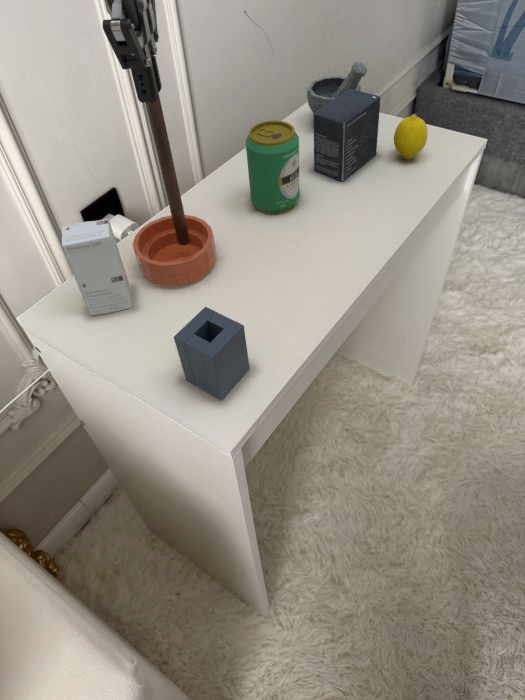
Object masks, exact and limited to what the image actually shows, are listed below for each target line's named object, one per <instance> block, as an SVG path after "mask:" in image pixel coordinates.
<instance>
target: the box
mask: <svg viewBox="0 0 525 700" xmlns="http://www.w3.org/2000/svg"><path fill="white" fill-rule="evenodd" d="M380 109H381V95H377V94H374V93H369V92H364V91H361V90H360V91H357V90H353V89H348V90H347V91H346V92H344V93H343V94H341V95H340V96H338V97H337V98H335V99H334V100H332V101H331V102H329V103H328V104H326V105H325V106H323V107H322V108H320V109H319V110H317V111H316V112H314V113H313V112H312V115H313V171H315V172H317V173H320V174H322V175H325V176H327V177H330V178H333V179H335V180H338V181H340V182H344V181H346V180H347V179H348V178H349V177H351V175H353V174H354V173H355V172H356V171H359V169H360V168H362V167H363V166H364V165H365V164H366V163H368V162H369V161H370V160H371V159H373V158H374V157H375V156H376V155H377V150H378V149H377V148H378V137H379V123H380V111H381V110H380Z"/></svg>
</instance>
